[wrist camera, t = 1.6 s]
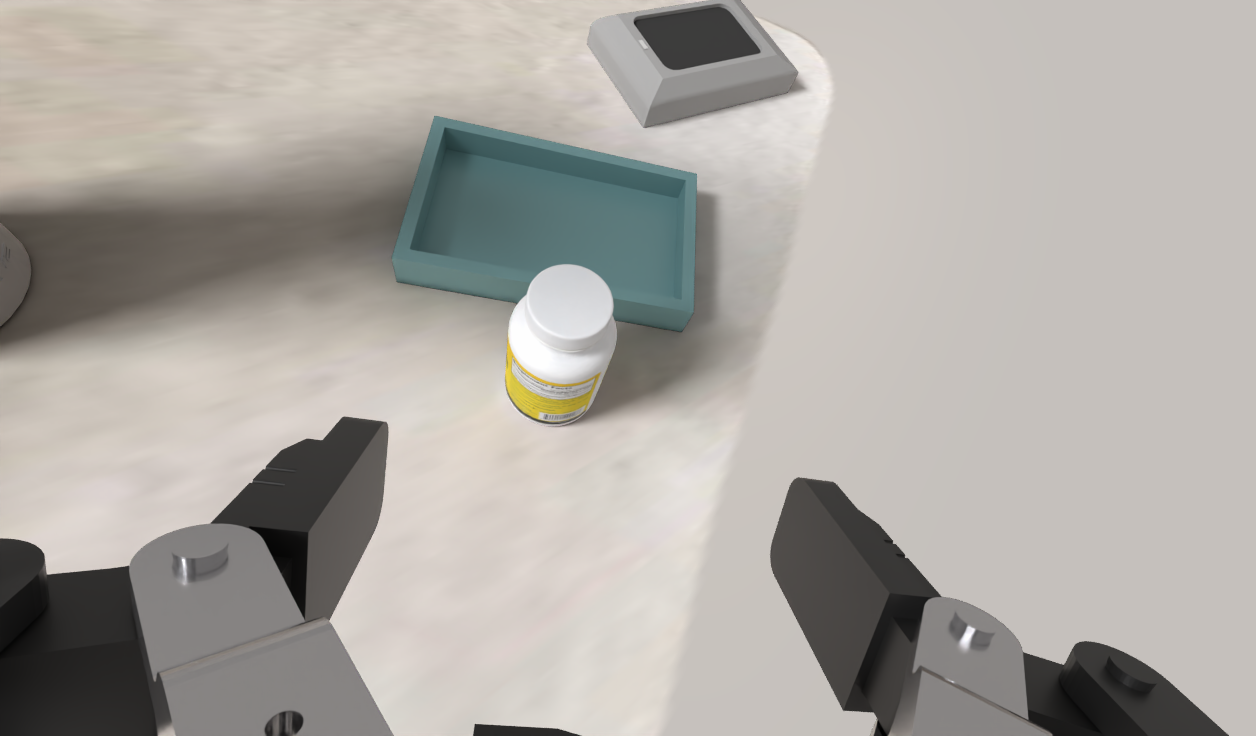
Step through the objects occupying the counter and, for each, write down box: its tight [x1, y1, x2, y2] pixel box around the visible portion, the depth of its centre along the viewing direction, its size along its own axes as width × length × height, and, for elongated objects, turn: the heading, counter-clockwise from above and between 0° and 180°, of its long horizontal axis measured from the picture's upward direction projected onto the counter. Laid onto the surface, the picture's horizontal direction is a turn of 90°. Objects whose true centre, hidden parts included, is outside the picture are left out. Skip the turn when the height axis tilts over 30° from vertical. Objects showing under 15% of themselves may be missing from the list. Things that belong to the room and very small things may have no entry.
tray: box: [392, 116, 697, 332], centre depth 39 cm, size 18×12×2 cm, turn 86°
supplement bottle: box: [505, 264, 617, 426], centre depth 31 cm, size 5×5×10 cm
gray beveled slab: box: [587, 0, 798, 128], centre depth 50 cm, size 10×4×15 cm
